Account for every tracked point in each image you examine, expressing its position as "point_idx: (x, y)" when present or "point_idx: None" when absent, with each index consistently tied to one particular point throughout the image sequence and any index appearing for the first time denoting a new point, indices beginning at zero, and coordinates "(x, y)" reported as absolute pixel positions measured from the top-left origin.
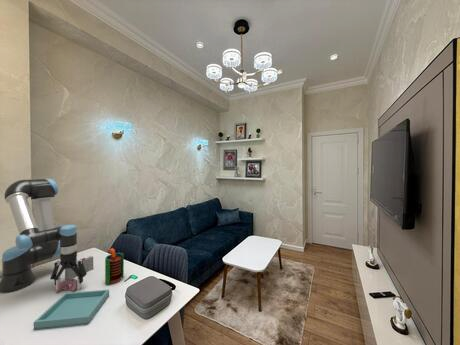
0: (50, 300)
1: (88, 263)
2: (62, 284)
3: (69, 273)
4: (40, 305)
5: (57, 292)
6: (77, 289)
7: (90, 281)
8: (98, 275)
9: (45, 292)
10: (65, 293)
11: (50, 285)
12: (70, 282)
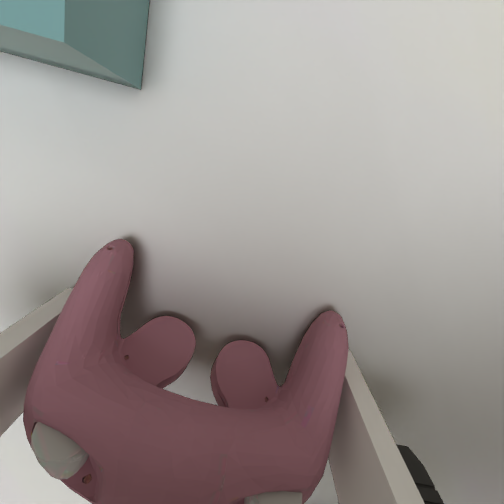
0: (362, 154)
1: None
2: (291, 429)
3: None
4: (475, 53)
5: (325, 314)
6: None
7: None
8: (10, 499)
9: (467, 381)
10: (56, 12)
11: (442, 489)
12: (132, 423)
